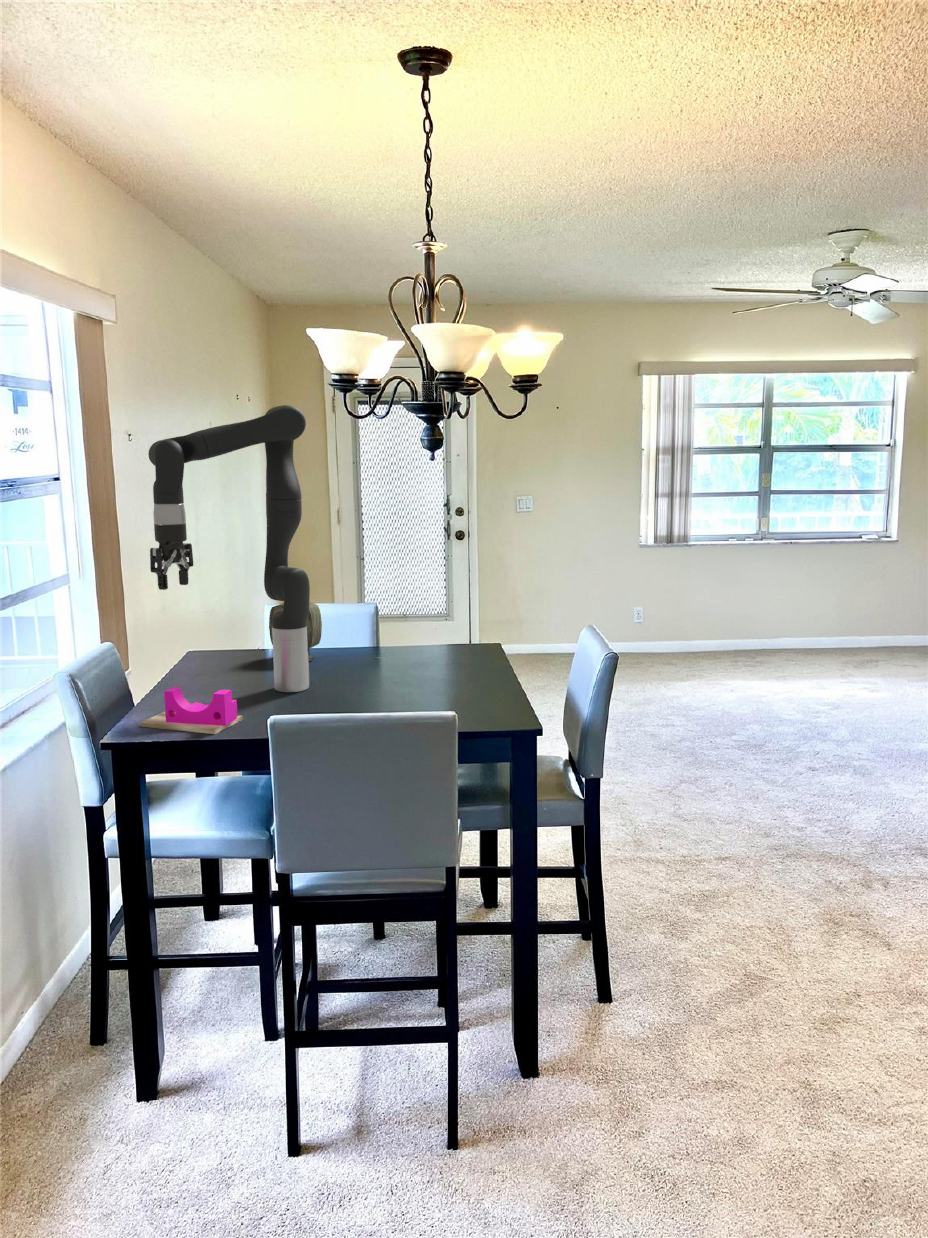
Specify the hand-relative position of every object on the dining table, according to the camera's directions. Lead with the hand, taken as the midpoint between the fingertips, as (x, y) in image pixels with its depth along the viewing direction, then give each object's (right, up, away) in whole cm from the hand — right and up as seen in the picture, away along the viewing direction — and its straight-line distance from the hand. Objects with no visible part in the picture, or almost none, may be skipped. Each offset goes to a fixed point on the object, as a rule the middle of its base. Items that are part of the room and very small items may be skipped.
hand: (173, 587), depth 222 cm
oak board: (+8, -33, -12) cm, 36 cm away
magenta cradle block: (+11, -32, -13) cm, 36 cm away
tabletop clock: (+20, -21, +57) cm, 64 cm away
